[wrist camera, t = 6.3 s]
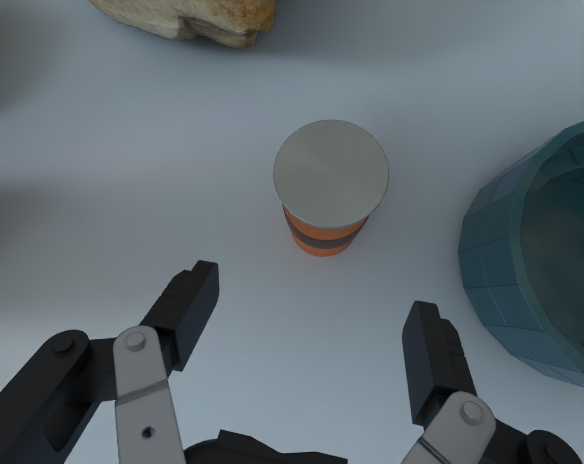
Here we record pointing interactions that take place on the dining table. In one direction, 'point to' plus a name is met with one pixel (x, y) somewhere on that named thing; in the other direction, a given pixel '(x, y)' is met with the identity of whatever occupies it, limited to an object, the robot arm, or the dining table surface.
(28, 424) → the robot arm
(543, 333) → the bowl
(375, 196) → the tube
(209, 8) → the rough brown rock
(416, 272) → the dining table surface
